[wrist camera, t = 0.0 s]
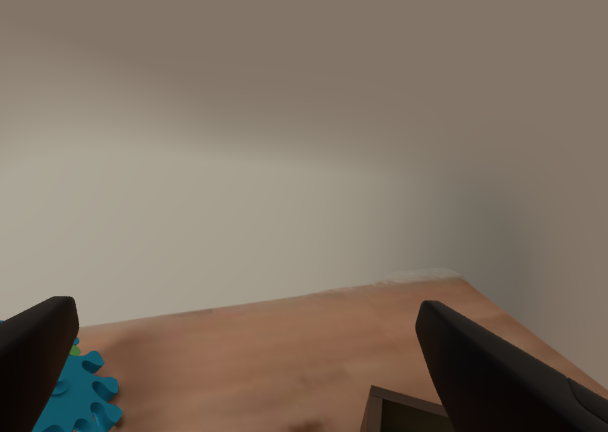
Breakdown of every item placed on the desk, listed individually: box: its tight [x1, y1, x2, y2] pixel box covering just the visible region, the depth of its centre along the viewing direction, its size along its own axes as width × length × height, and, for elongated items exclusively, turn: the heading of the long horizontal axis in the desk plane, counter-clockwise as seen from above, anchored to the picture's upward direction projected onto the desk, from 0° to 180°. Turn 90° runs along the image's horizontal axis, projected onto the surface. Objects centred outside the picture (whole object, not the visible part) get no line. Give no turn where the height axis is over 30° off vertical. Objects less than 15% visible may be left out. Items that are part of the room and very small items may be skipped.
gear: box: [0, 321, 122, 432], centre depth 21 cm, size 11×6×10 cm
